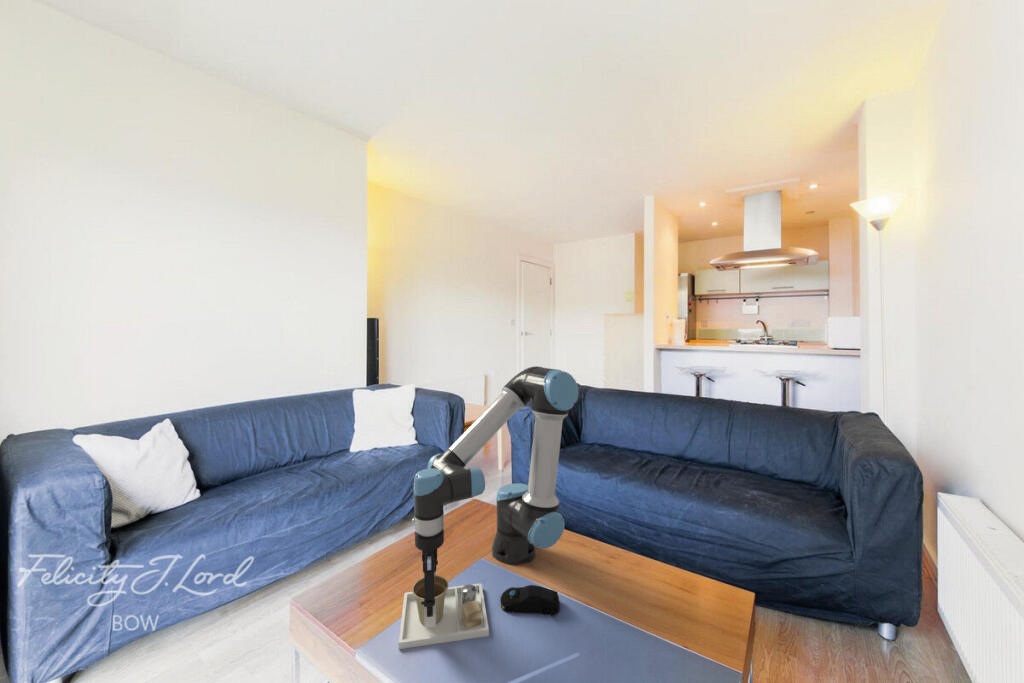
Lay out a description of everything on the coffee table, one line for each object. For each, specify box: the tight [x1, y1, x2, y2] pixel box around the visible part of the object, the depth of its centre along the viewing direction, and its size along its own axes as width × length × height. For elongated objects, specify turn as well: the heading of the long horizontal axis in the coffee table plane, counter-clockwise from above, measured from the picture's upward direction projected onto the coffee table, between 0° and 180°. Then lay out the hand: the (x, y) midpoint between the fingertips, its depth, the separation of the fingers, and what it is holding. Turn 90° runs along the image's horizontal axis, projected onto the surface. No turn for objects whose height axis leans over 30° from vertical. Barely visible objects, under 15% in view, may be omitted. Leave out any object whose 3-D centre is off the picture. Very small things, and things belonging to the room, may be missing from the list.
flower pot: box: [411, 574, 449, 625], centre depth 107 cm, size 9×9×9 cm
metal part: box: [461, 584, 476, 604], centre depth 113 cm, size 4×4×4 cm
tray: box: [397, 582, 490, 650], centre depth 108 cm, size 22×18×2 cm
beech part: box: [461, 600, 481, 630], centre depth 106 cm, size 4×4×4 cm
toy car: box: [500, 584, 561, 617], centre depth 112 cm, size 8×17×5 cm, turn 85°
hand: (430, 606), depth 107 cm, fingers open, 13 cm apart
